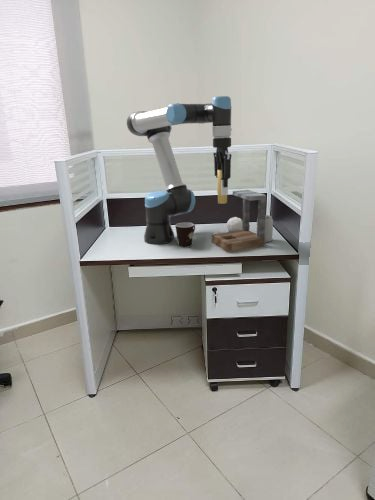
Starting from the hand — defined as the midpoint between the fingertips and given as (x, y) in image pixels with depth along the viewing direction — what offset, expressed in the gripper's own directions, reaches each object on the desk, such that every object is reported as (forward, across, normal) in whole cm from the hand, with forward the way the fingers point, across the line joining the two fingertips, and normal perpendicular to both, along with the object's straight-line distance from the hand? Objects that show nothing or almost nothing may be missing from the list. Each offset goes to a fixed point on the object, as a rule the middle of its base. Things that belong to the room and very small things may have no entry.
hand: (222, 193), depth 151 cm
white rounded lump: (+25, +17, -16) cm, 34 cm away
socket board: (+25, +2, -8) cm, 27 cm away
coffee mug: (+25, +11, +13) cm, 30 cm away
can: (+25, +2, -22) cm, 34 cm away
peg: (+4, 0, 0) cm, 4 cm away
